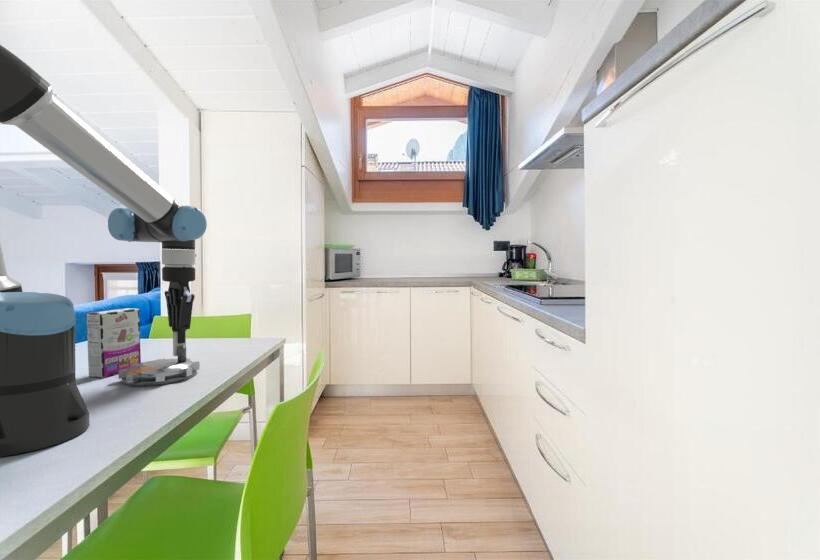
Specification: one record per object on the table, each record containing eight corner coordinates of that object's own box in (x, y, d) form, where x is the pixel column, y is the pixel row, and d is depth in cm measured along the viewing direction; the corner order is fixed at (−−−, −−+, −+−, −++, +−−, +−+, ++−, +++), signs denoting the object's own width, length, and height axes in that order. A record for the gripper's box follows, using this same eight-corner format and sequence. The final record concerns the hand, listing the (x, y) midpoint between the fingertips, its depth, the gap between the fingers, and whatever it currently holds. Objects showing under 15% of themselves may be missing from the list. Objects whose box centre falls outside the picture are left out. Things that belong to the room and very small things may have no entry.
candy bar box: (126, 366, 111) (125, 307, 110) (141, 367, 110) (140, 308, 109) (86, 377, 100) (85, 312, 99) (102, 378, 99) (101, 312, 98)
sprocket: (114, 387, 89) (114, 360, 89) (122, 369, 103) (122, 346, 103) (201, 376, 98) (201, 352, 98) (197, 361, 112) (197, 340, 112)
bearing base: (134, 390, 89) (134, 387, 89) (113, 377, 99) (113, 374, 99) (207, 376, 102) (207, 372, 102) (181, 365, 112) (181, 363, 112)
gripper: (204, 267, 103) (205, 356, 104) (184, 265, 111) (184, 348, 112) (173, 267, 97) (173, 362, 99) (153, 265, 105) (154, 353, 106)
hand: (179, 354), depth 105 cm, fingers closed
